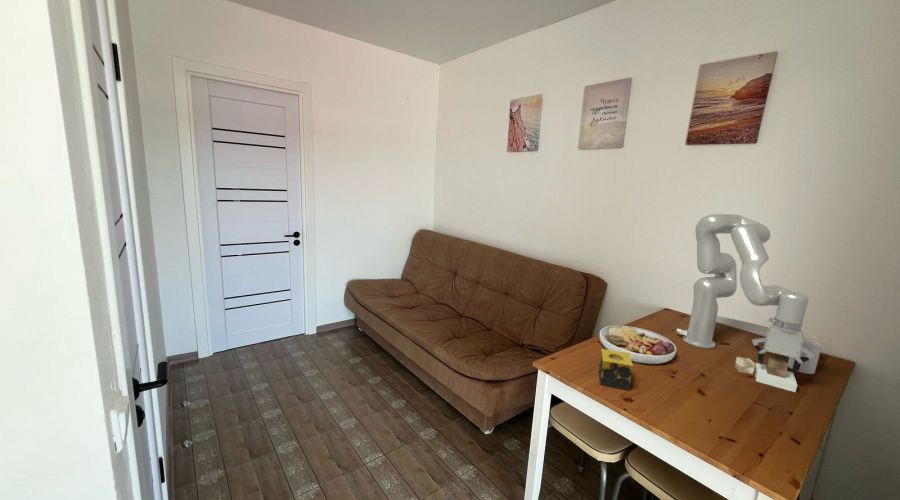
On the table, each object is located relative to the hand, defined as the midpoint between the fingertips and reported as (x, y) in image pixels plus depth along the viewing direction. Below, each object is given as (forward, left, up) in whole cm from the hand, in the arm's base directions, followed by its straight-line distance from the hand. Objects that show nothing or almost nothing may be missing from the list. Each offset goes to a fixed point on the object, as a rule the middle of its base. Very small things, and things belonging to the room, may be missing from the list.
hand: (777, 366), depth 136 cm
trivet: (0, 0, -6) cm, 6 cm away
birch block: (-9, +2, -6) cm, 11 cm away
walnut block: (0, 0, -3) cm, 3 cm away
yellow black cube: (-48, -42, -6) cm, 64 cm away
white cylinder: (+10, +20, -6) cm, 23 cm away
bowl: (-47, -8, -6) cm, 48 cm away
